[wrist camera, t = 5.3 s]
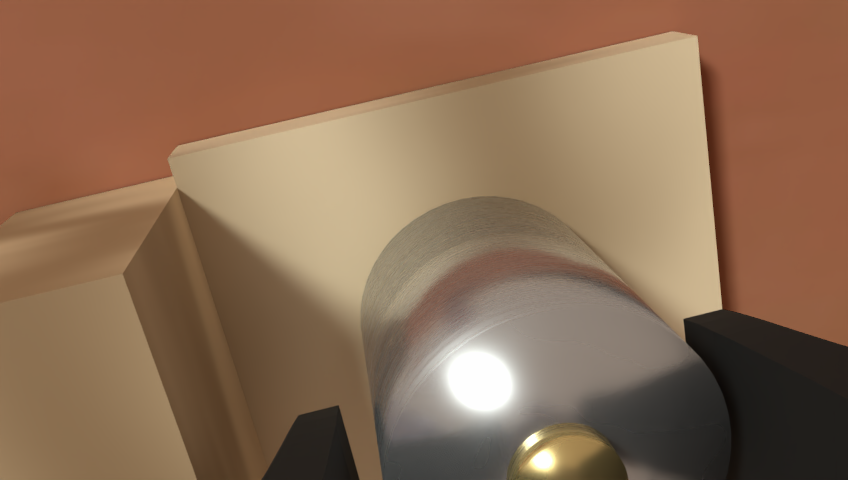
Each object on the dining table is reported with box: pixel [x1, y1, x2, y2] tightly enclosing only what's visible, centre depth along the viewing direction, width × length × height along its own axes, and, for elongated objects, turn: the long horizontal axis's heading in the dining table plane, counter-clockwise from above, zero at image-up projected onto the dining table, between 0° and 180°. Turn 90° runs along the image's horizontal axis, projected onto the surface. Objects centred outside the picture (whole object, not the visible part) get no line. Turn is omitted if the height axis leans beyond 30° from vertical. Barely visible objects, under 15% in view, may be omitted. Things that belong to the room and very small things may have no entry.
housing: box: [360, 196, 731, 480], centre depth 12 cm, size 4×4×5 cm
